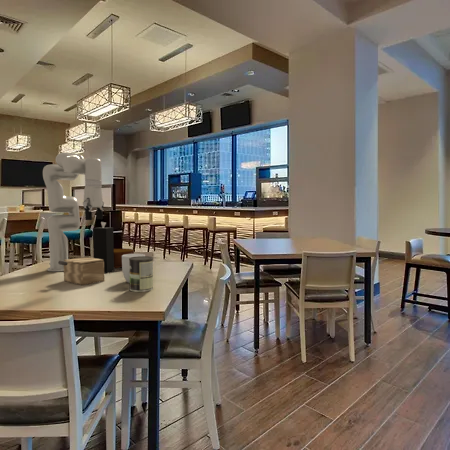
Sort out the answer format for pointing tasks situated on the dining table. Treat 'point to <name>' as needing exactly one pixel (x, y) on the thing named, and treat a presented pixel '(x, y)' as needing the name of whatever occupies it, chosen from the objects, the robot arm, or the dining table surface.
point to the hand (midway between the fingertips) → (94, 219)
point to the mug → (127, 265)
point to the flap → (80, 260)
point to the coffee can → (141, 273)
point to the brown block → (120, 256)
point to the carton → (84, 273)
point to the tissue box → (104, 246)
